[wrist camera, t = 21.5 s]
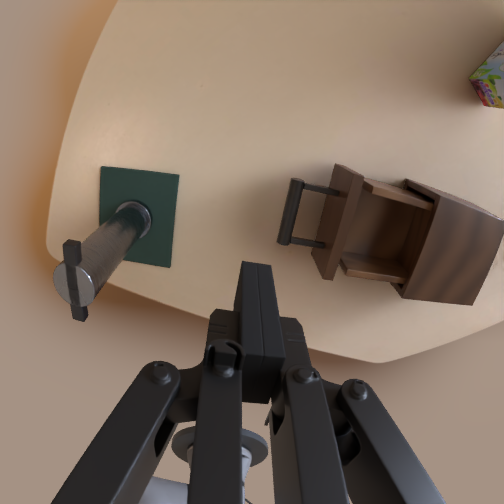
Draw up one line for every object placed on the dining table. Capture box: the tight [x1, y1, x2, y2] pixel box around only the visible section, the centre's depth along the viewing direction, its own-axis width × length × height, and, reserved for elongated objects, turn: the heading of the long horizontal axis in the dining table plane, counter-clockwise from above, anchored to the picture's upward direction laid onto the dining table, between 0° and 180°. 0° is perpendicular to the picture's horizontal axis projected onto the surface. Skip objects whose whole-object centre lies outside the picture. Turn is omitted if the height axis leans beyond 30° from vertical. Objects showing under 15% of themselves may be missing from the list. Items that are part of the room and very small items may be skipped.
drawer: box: [277, 163, 434, 284], centre depth 32 cm, size 18×11×6 cm, turn 79°
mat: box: [99, 166, 179, 268], centre depth 35 cm, size 12×10×1 cm
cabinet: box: [390, 179, 504, 306], centre depth 33 cm, size 14×13×8 cm
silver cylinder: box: [53, 199, 153, 322], centre depth 27 cm, size 7×5×16 cm
